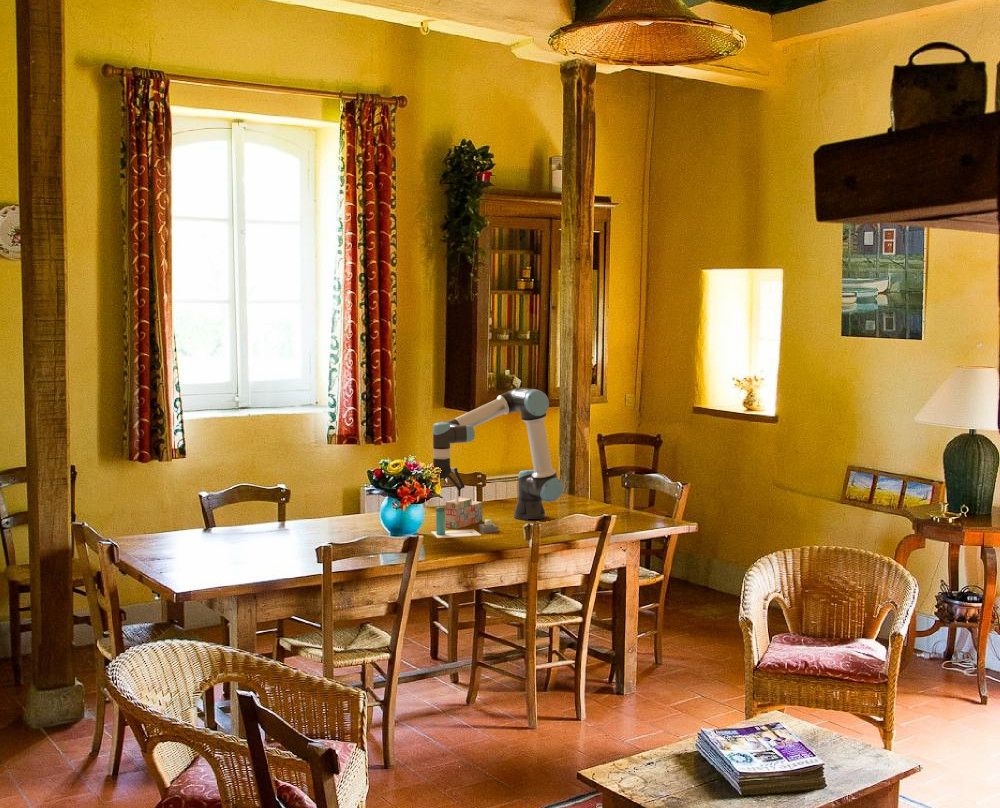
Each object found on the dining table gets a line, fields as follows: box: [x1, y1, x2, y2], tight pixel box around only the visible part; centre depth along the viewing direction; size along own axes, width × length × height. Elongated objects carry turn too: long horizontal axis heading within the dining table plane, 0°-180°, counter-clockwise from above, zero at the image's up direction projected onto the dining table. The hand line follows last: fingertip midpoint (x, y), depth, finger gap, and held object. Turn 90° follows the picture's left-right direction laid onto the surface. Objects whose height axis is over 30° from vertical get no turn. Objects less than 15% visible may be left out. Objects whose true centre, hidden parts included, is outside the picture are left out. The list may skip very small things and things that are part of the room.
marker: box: [435, 506, 446, 535], centre depth 493 cm, size 4×4×12 cm
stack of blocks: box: [445, 497, 483, 530], centre depth 517 cm, size 21×6×12 cm, turn 147°
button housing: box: [478, 523, 499, 534], centre depth 503 cm, size 7×7×2 cm
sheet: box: [430, 528, 482, 539], centre depth 496 cm, size 20×12×1 cm, turn 107°
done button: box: [484, 518, 493, 527], centre depth 503 cm, size 3×3×4 cm
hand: (442, 504), depth 493 cm, fingers open, 13 cm apart
